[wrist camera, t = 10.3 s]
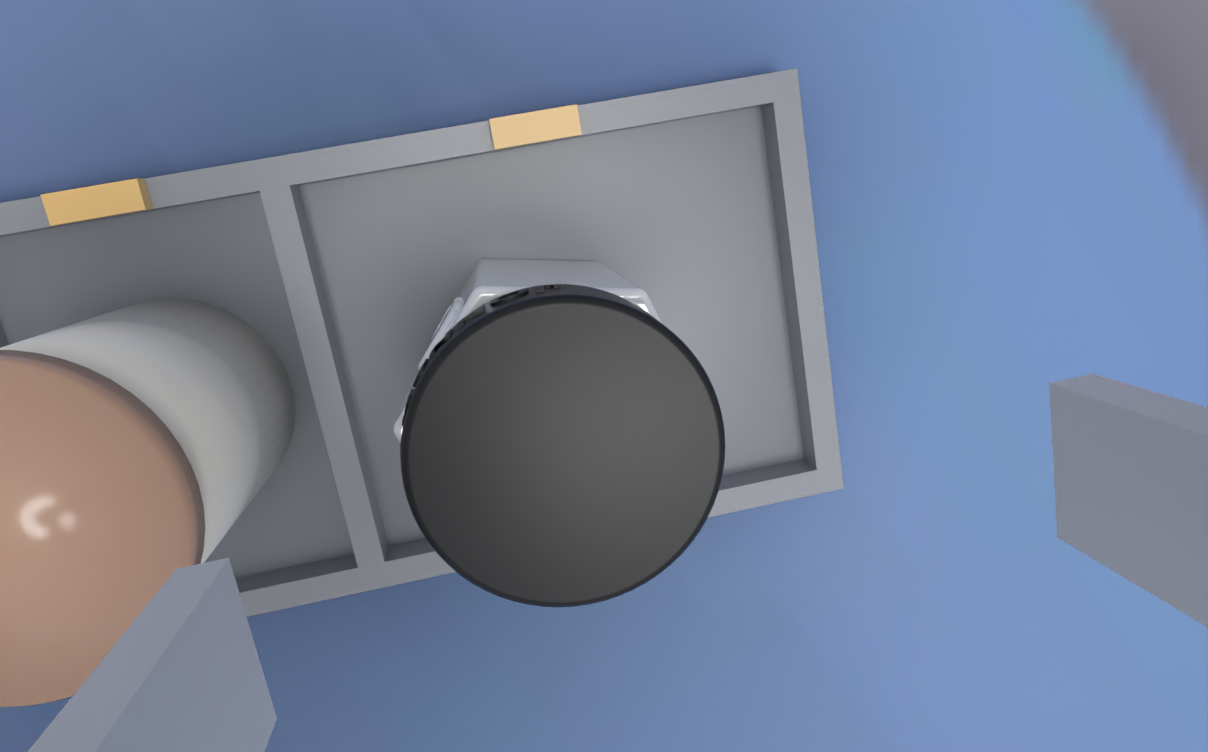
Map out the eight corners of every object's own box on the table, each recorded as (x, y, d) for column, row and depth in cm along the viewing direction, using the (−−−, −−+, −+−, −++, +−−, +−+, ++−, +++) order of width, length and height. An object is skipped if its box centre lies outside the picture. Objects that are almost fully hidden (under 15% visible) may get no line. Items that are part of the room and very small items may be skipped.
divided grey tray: (87, 629, 33) (54, 665, 31) (-57, 216, 29) (-108, 219, 27) (824, 471, 36) (850, 493, 33) (778, 75, 32) (803, 65, 29)
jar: (505, 202, 31) (515, 212, 19) (688, 315, 33) (798, 385, 21) (385, 409, 32) (325, 534, 20) (569, 507, 34) (610, 673, 22)
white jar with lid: (98, 536, 32) (-134, 742, 20) (24, 316, 30) (-282, 401, 18) (325, 489, 32) (230, 662, 21) (267, 273, 30) (127, 326, 19)
